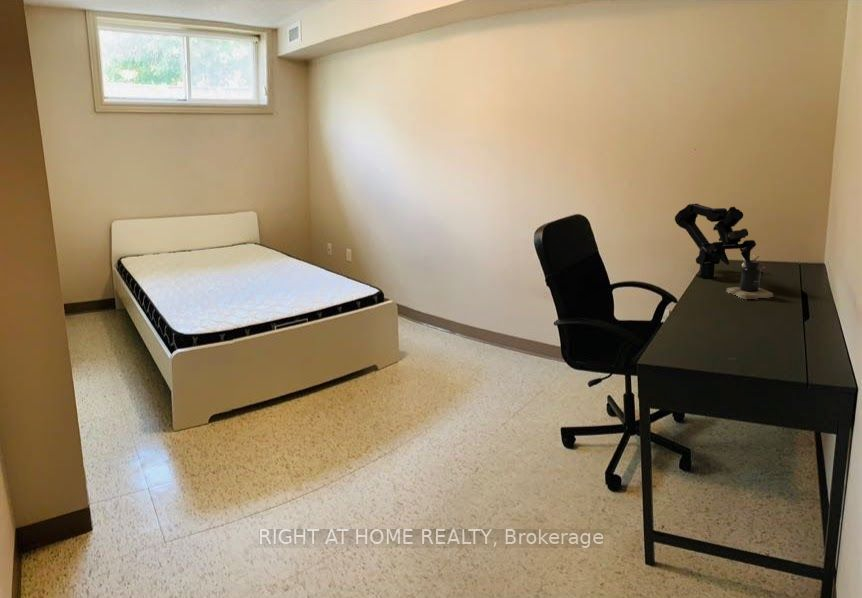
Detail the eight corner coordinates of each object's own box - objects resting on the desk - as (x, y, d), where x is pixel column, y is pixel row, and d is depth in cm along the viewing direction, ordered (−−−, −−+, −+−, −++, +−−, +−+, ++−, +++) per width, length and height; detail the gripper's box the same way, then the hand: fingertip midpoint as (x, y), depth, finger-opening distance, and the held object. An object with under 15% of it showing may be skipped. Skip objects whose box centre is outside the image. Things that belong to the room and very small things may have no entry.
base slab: (726, 292, 249) (726, 287, 249) (752, 290, 251) (753, 285, 250) (745, 300, 238) (745, 295, 237) (772, 298, 239) (773, 292, 239)
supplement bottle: (758, 293, 239) (761, 263, 236) (739, 291, 243) (742, 262, 239) (758, 288, 245) (762, 260, 242) (740, 287, 248) (743, 258, 245)
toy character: (757, 282, 278) (735, 271, 276) (752, 272, 284) (731, 261, 283) (773, 266, 271) (750, 255, 270) (768, 256, 278) (746, 245, 277)
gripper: (714, 223, 249) (727, 254, 242) (756, 221, 251) (770, 252, 244) (702, 238, 259) (714, 269, 252) (742, 236, 261) (755, 266, 254)
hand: (738, 263), depth 250 cm, fingers open, 9 cm apart
